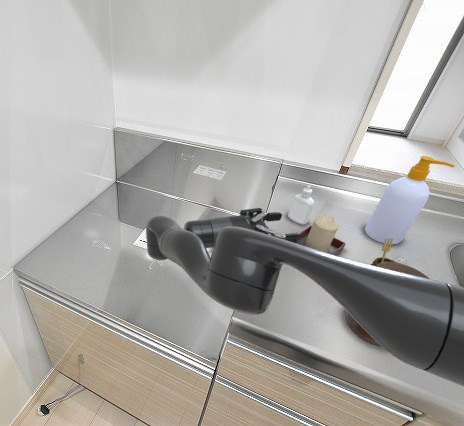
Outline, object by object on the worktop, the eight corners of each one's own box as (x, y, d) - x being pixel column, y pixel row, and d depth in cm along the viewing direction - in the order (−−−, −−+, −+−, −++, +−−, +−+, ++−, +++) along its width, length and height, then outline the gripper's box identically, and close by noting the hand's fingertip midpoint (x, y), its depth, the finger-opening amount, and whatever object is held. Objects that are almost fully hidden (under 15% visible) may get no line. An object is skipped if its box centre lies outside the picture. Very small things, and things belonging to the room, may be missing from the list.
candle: (299, 243, 81) (311, 214, 75) (316, 239, 82) (328, 210, 76) (315, 257, 76) (328, 227, 71) (331, 252, 78) (346, 222, 72)
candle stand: (405, 329, 59) (445, 283, 51) (387, 356, 55) (427, 309, 47) (357, 300, 65) (386, 254, 57) (337, 322, 61) (365, 276, 53)
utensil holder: (369, 296, 66) (394, 258, 59) (353, 275, 71) (375, 238, 64) (396, 297, 66) (424, 258, 59) (378, 275, 71) (403, 238, 64)
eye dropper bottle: (294, 225, 87) (307, 191, 80) (285, 215, 92) (296, 181, 85) (309, 224, 87) (322, 190, 81) (299, 214, 92) (311, 180, 85)
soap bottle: (398, 251, 78) (451, 170, 64) (359, 234, 84) (399, 157, 70) (408, 237, 82) (459, 159, 68) (370, 222, 88) (410, 147, 74)
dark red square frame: (342, 250, 78) (346, 243, 77) (324, 266, 74) (327, 259, 72) (308, 232, 85) (310, 225, 83) (289, 246, 80) (291, 239, 79)
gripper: (240, 239, 64) (310, 232, 65) (219, 203, 76) (279, 198, 77) (234, 263, 68) (300, 256, 70) (215, 226, 80) (272, 221, 81)
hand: (289, 226), depth 73 cm, fingers open, 8 cm apart
